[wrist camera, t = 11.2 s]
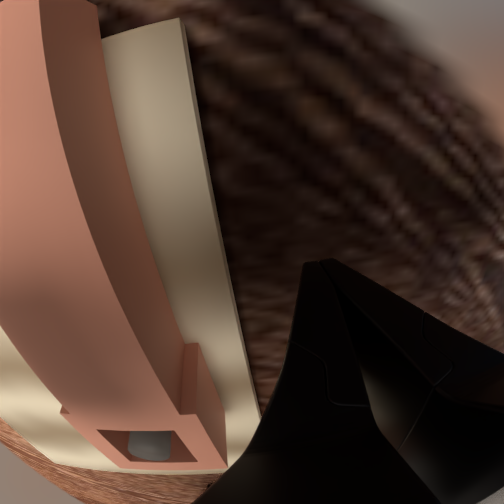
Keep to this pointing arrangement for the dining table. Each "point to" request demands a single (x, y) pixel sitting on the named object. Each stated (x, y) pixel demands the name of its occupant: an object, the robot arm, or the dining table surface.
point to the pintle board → (156, 253)
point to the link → (88, 251)
